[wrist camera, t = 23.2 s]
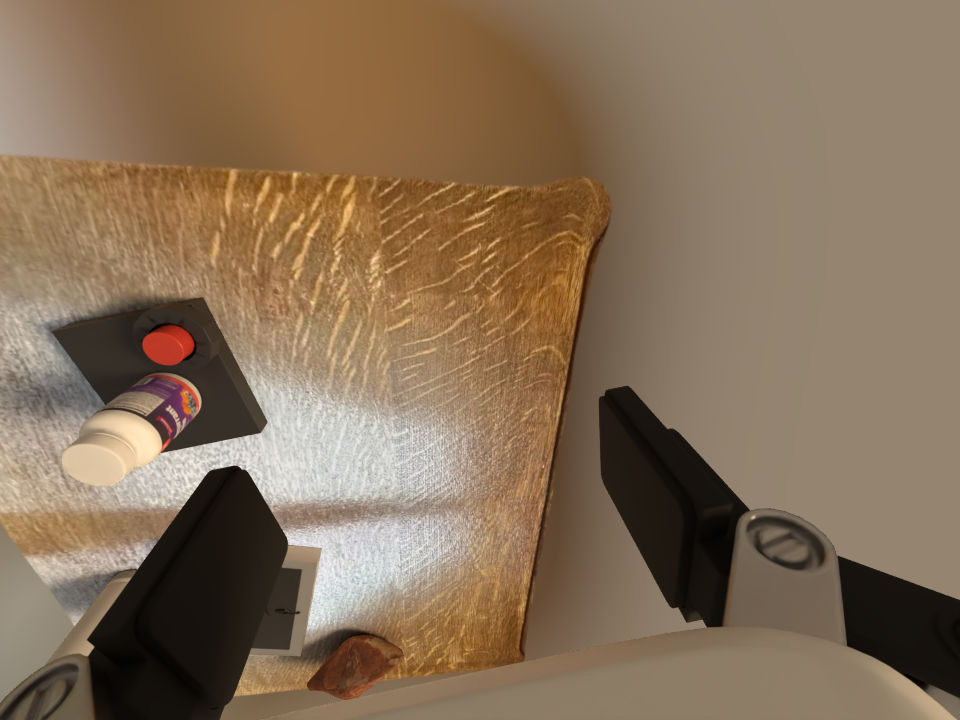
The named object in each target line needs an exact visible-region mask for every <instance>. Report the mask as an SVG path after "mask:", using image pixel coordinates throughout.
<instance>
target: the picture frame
mask: <svg viewBox="0 0 960 720" xmlns="http://www.w3.org/2000/svg"><path fill="white" fill-rule="evenodd" d="M321 550H322V548H312V547H302V546H292V545H288V551H287V554H286V557H285V559H284V562H283V565H282V568H281V570H280V573H279V576H278V578H277V581H276V584H275V586H274V589H273V592H272V594H271V597H270V600H269V602H268V605H267V608H266V610H265V613H264V616H263V619H262V621H261V624H260V627H259V629H258V632H257V635H256V637H255V640H254V643H253V645H252V648H251V651H250V653H249V654H254V655H279V656H301V653H302V649H303V645H304V642H305V636H306V631H307V626H308V620H309V615H310V609H311V604H312V599H313V593H314V588H315V582H316V577H317V572H318V566H319V561H320V556H321Z"/></svg>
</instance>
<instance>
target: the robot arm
mask: <svg viewBox="0 0 960 720" xmlns="http://www.w3.org/2000/svg"><path fill="white" fill-rule="evenodd" d="M599 427H600V460H601V476H602V480H603V483H604V485H605V487H606V489H607V491H608V493H609V495H610V497H611V499H612V500H613V502H614V504H615V506H616V508H617V510H618V512H619V513H620V515H621V517H622V519H623V521H624V523H625V525H626V527H627V528H628V530H629V532H630V534H631V536H632V538H633V540H634V542H635V543H636V545H637V547H638V549H639V551H640V553H641V555H642V556H643V558H644V560H645V562H646V564H647V566H648V568H649V569H650V571H651V573H652V575H653V577H654V579H655V580H656V583H657V584H658V586H659V588H660V590H661V592H662V594H663V595H664V597H665V599H666V601H667V603H668V604H669V606H670V607H672V608H676V607H678V608H679V610H680V612H681V613H682V615H683V617H684V619H685V621H686V622H687V623H688V622H692V621H697V620H703V621H704V623H705V625H706V626H707V628H701V629H694V630H686V631H680V632H671V633H665V634H660V635H654V636H650V637H644V638H639V639H633V640H629V641H624V642H618V643H613V644H608V645H603V646H598V647H592V648H587V649H582V650H577V651H573V652H568V653H563V654H559V655H554V656H549V657H544V658H540V659H535V660H530V661H525V662H521V663H516V664H511V665H506V666H502V667H497V668H492V669H488V670H483V671H478V672H474V673H469V674H464V675H459V676H455V677H450V678H446V679H441V680H436V681H432V682H427V683H423V684H418V685H414V686H409V687H404V688H400V689H395V690H391V691H386V692H381V693H377V694H373V695H367V696H363V697H358V698H354V699H349V700H345V701H341V702H335V703H331V704H326V705H322V706H317V707H313V708H308V709H304V710H300V711H295V712H290V713H286V714H281V715H277V716H273V717H268V718H263V719H259V720H960V600H958V599H955V598H952V597H950V596H947V595H944V594H941V593H939V592H936V591H933V590H930V589H928V588H925V587H922V586H920V585H916V584H914V583H911V582H909V581H906V580H903V579H900V578H898V577H894V576H892V575H889V574H887V573H884V572H881V571H878V570H876V569H873V568H870V567H867V566H865V565H862V564H859V563H856V562H854V561H851V560H848V559H845V558H843V557H840V556H837V554H836V551H835V548H834V546H833V545H832V543H831V542H830V540H829V539H828V538H827V536H826V535H825V534H824V533H822V532H821V531H820V530H819V529H818V528H816V527H815V526H814V525H813V524H811V523H809V522H808V521H806V520H804V519H802V518H801V517H799V516H796V515H793V514H791V513H788V512H785V511H781V510H776V509H771V508H767V509H755V510H751V511H750V510H749V509H748V507H747V506H746V505H745V504H744V503H743V502H742V501H741V500H740V499H739V498H738V497H737V495H736V494H735V493H734V492H733V491H732V490H731V489H730V488H729V487H728V486H727V484H726V483H725V482H724V481H723V480H722V479H721V478H720V477H719V476H718V475H717V474H716V473H715V471H714V470H713V469H712V468H711V467H710V466H709V465H708V464H707V463H706V462H705V461H704V459H703V458H702V457H701V456H700V455H699V454H698V453H697V452H696V451H695V450H694V449H693V447H692V446H691V445H690V444H689V443H688V442H687V441H686V440H685V439H684V438H683V437H682V436H681V435H680V433H678V432H677V431H676V430H674V429H667V428H666V427H665V426H664V425H663V424H662V423H661V422H660V421H659V419H658V418H657V417H656V416H655V415H654V414H653V413H652V412H651V410H650V409H649V408H648V407H647V406H646V405H645V403H644V402H643V401H642V400H641V399H640V398H639V397H638V396H637V395H636V393H635V392H634V391H633V390H632V389H631V388H630V387H629V386H624V387H618V388H613V389H609V390H606V392H605V396H602V397H600V398H599ZM287 551H288V540H287V537H286V536H285V534H284V532H283V530H282V529H281V527H280V525H279V524H278V522H277V520H276V519H275V517H274V515H273V514H272V512H271V510H270V508H269V507H268V505H267V503H266V502H265V500H264V498H263V497H262V495H261V493H260V492H259V490H258V488H257V486H256V485H255V483H254V481H253V480H252V478H251V476H250V475H249V473H248V472H247V471H246V470H241V468H240V467H238V466H230V467H225V468H220V469H215V470H212V471H209V472H208V473H207V475H206V476H205V477H204V479H203V480H202V481H201V483H200V484H199V486H198V487H197V488H196V490H195V491H194V492H193V494H192V495H191V497H190V498H189V499H188V501H187V502H186V503H185V505H184V506H183V508H182V509H181V510H180V512H179V513H178V515H177V516H176V517H175V519H174V520H173V521H172V523H171V524H170V526H169V527H168V528H167V530H166V531H165V532H164V534H163V535H162V537H161V538H160V539H159V541H158V542H157V543H156V545H155V546H154V548H153V549H152V550H151V552H150V553H149V554H148V556H147V557H146V559H145V560H144V561H143V563H142V564H141V565H140V567H139V568H138V570H137V571H136V572H135V574H134V575H133V577H132V578H131V579H130V581H129V582H128V583H127V585H126V586H125V588H124V589H123V590H122V592H121V593H120V594H119V596H118V597H117V599H116V600H115V601H114V603H113V604H112V605H111V607H110V608H109V610H108V611H107V612H106V614H105V615H104V616H103V618H102V619H101V621H100V622H99V623H98V625H97V626H96V628H95V629H94V630H93V632H92V633H91V634H90V636H89V637H88V639H87V641H88V642H89V643H91V644H92V645H93V646H94V648H93V650H92V651H91V652H90V654H89V655H88V657H87V656H85V655H82V654H80V653H78V654H70V655H66V656H64V657H61V658H59V659H56V660H54V661H52V662H50V663H49V664H47V665H45V666H44V667H42V668H40V669H38V670H37V671H36V672H34V673H33V674H32V675H30V676H29V677H28V678H26V679H25V680H24V681H23V682H21V683H20V684H19V685H18V686H17V687H16V688H15V689H14V690H13V691H11V692H10V693H9V694H8V695H7V696H6V697H5V698H4V699H3V700H2V702H1V703H0V720H219V719H220V717H221V714H222V711H223V709H224V706H225V705H226V704H228V703H229V702H230V701H231V699H232V698H233V696H234V693H235V691H236V688H237V686H238V683H239V680H240V678H241V675H242V672H243V669H244V667H245V664H246V661H247V659H248V656H249V653H250V651H251V648H252V645H253V643H254V640H255V637H256V635H257V632H258V629H259V627H260V624H261V621H262V619H263V616H264V613H265V610H266V608H267V605H268V602H269V600H270V597H271V594H272V592H273V589H274V586H275V584H276V581H277V578H278V576H279V573H280V570H281V568H282V565H283V562H284V559H285V557H286V554H287Z"/></svg>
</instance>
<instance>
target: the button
mask: <svg viewBox="0 0 960 720" xmlns="http://www.w3.org/2000/svg"><path fill="white" fill-rule="evenodd" d="M142 345H143V350H144V352H145V353H146V355H147V356H148V357H149V358H150V359H151V360H153V361H155V362H157V363H159V364H162V365H175V364H177V363H179V362H180V361H182V360H183V359H184V358H186V357H187V356H188V355H189V354H191V353H192V351H193V350H194V346H195V345H194V340H193V338H192V336H191V335H190V333H189V332H187V331H186V330H185V329H183V328H181V327H179V326H176V325H164V326H161V327H160V328H158V329H156V330H155V331H153V332H151V333H150V334H148V335H147V336H146V337H145V338H144V340H143V344H142Z"/></svg>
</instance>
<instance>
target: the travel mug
mask: <svg viewBox="0 0 960 720" xmlns="http://www.w3.org/2000/svg"><path fill="white" fill-rule="evenodd" d="M136 571H137V570H128V571H123V572H121V573H118V574H117V575H115V576H114V577H113V578H112V579H111V580H110V581H109V583H108V584H107V585H106V587H105V588H104V590H103V591H102V592H101V593H100V594H99V596H98V597H97V598H96V600H95V601H94V602H93V604H92V605H91V606H90V607H89V609H88V610H87V611H86V613H85V614H84V615H83V617H82V618H81V619H80V620H79V622H78V623H77V624H76V626H75V627H74V628H73V629H72V631H71V632H70V633H69V635H68V636H67V638H66V639H65V640H64V641H63V642H62V644H61V645H60V646H59V648H58V649H57V650H56V652H55V653H54V654H53V655H52V657H51V658H50V659H49V661H48V662H47V663H46V665H47V664H49V663H50V662H52V661H54V660H56V659H59V658H61V657H64V656H66V655H70V654H78V653H80V654H82V655H85V656H87V657H88V655H89V654H90V652H91V651H92V650H93V648H94V646H93V645H92V644H91V643H89V642H88V641H87V639H88V637H89V636H90V634H91V633H92V632H93V630H94V629H95V628H96V626H97V625H98V623H99V622H100V621H101V619H102V618H103V616H104V615H105V614H106V612H107V611H108V610H109V608H110V607H111V605H112V604H113V603H114V601H115V600H116V599H117V597H118V596H119V594H120V593H121V592H122V590H123V589H124V588H125V586H126V585H127V583H128V582H129V581H130V579H131V578H132V577H133V575H134V574H135V572H136Z"/></svg>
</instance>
